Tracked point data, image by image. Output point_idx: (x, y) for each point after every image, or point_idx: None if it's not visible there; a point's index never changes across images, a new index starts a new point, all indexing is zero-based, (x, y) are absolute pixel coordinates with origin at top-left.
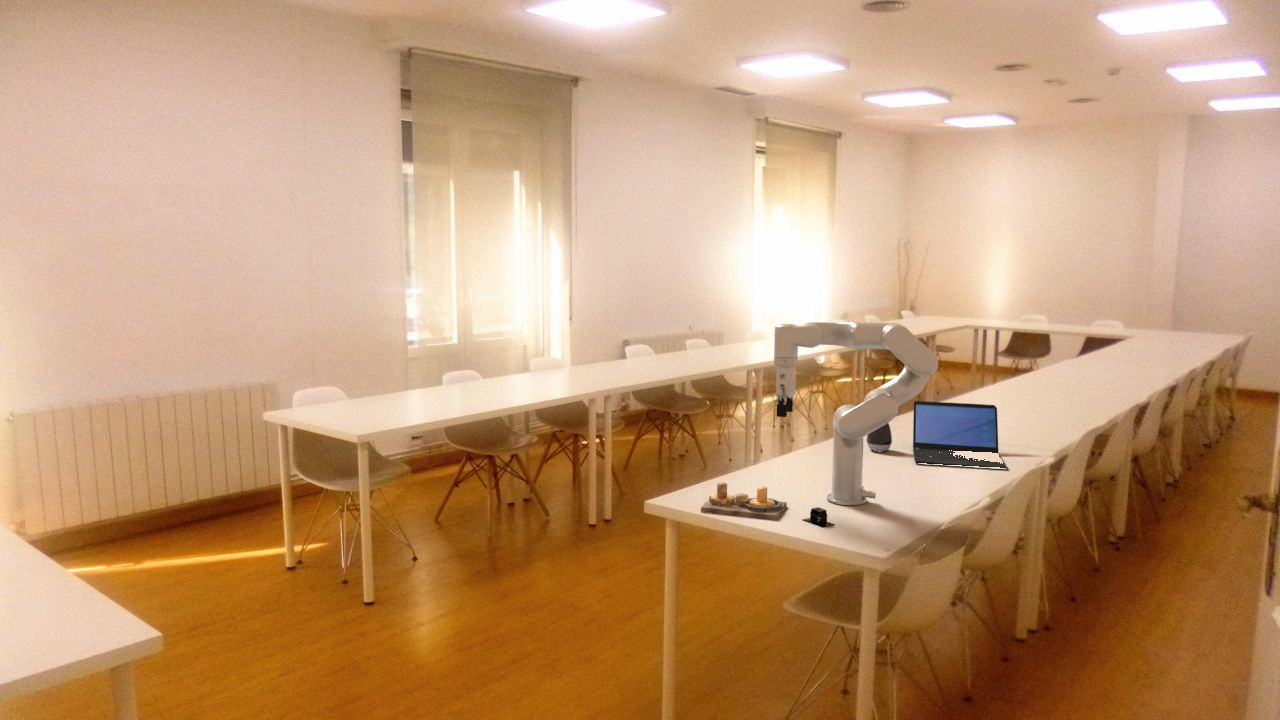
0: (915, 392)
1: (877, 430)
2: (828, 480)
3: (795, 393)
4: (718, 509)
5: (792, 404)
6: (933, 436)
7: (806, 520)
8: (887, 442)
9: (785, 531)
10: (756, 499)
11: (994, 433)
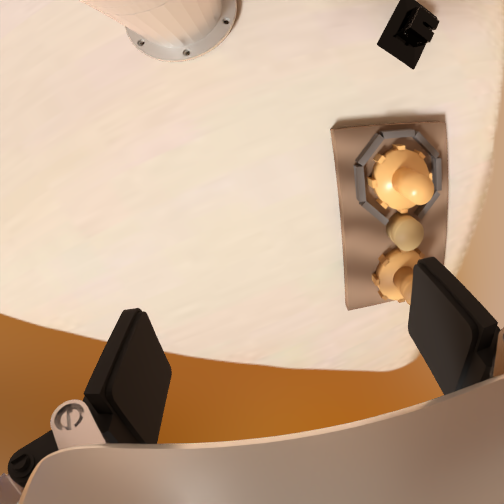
0: None
1: None
2: (27, 144)
3: (86, 457)
4: (443, 254)
5: (110, 354)
6: None
7: (416, 55)
8: None
9: (488, 89)
10: (393, 199)
11: None
